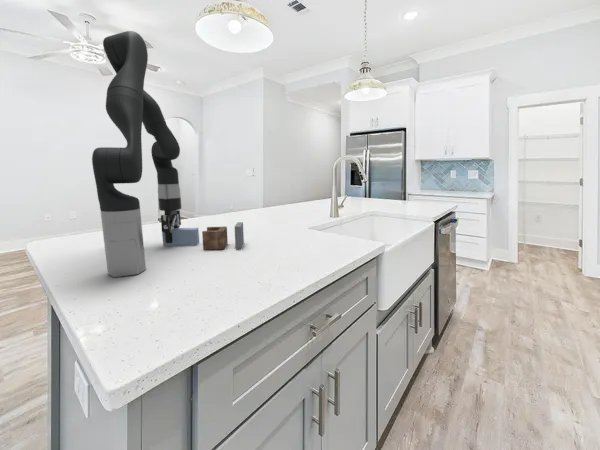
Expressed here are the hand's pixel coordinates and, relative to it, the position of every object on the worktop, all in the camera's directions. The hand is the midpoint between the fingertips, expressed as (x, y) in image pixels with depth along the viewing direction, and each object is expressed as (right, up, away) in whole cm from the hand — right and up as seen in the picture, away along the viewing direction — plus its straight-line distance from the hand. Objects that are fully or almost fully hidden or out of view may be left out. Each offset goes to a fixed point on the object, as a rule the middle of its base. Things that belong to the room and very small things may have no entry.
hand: (173, 240), depth 117 cm
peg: (+3, -2, +1) cm, 3 cm away
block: (+17, -2, -3) cm, 17 cm away
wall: (+25, -2, -3) cm, 26 cm away
